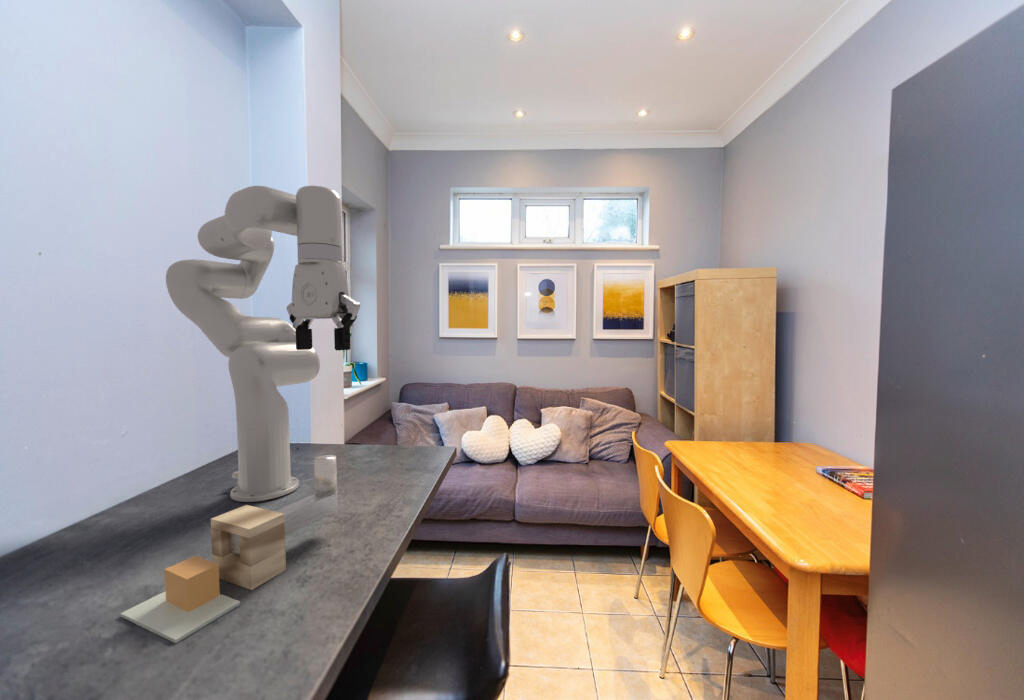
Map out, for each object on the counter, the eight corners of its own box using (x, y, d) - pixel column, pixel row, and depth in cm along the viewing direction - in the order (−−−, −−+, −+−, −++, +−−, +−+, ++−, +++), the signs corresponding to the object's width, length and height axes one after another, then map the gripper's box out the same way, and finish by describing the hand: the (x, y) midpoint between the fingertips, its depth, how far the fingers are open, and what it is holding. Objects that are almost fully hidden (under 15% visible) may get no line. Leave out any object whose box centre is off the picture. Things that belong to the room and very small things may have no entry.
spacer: (197, 585, 55) (165, 600, 52) (196, 555, 55) (164, 569, 52) (219, 595, 53) (188, 612, 50) (218, 564, 53) (186, 579, 50)
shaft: (229, 551, 58) (227, 487, 57) (327, 505, 73) (325, 453, 72) (246, 556, 56) (243, 490, 56) (342, 508, 72) (340, 456, 71)
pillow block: (213, 576, 58) (210, 518, 57) (248, 558, 62) (246, 504, 62) (251, 590, 55) (249, 529, 54) (285, 569, 59) (284, 513, 59)
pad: (120, 616, 50) (120, 613, 50) (186, 583, 56) (186, 580, 56) (175, 643, 45) (175, 639, 45) (240, 604, 52) (240, 601, 52)
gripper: (269, 258, 78) (272, 350, 78) (339, 249, 71) (342, 351, 71) (304, 263, 84) (306, 348, 85) (371, 257, 77) (373, 349, 78)
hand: (323, 349), depth 78 cm, fingers open, 9 cm apart
